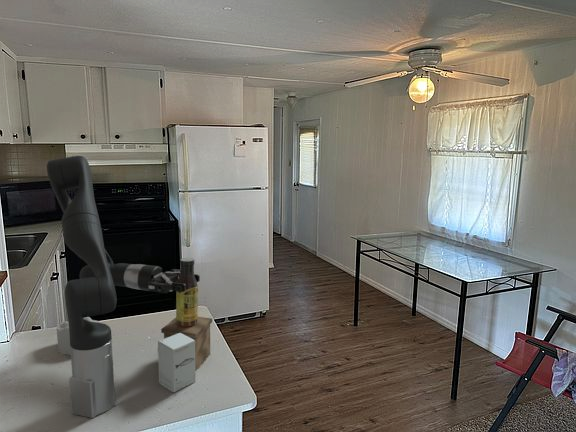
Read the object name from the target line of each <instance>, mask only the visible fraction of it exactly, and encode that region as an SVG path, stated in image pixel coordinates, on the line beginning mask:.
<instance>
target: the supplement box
mask: <svg viewBox="0 0 576 432" xmlns="http://www.w3.org/2000/svg"><path fill="white" fill-rule="evenodd" d="M157 356H158V359H157V360H158V383H159V384H160V385H162V386H163V387H164V388H166V389H167V390H169V391H170V392H171V393H174V394H175V393H176V392H178V391H179V390H182V389H183V388H185V387H187V386H190V385H191V384H193V383H196V372H195V340H193V339H192V338H190V337H188V336H186V335H184V334H182V333H178V334H175V335H173V336H170V337H168V338H165V339H164V338H162V339H160V340H157Z"/></svg>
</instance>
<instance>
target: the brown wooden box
mask: <svg viewBox="0 0 576 432" xmlns="http://www.w3.org/2000/svg"><path fill="white" fill-rule="evenodd" d="M211 324H213V318H212V317H204V316H198V318H197V322H196V324H194V325H193V326H189V327H181V326H179V325H177V319H176V317H175V318H173V319H172V320H171V321H169V322H168V323H167V324H165V325H164V326H163V327H162V328H161V330H160V331H161V332H160V333H161V334H163V339H165V338H168V337H170V336H173V335H175V334H178V333H182V334H184V335H186V336H188V337H190V338H192V339H193V340H195V371H196V370H197V369H200V368H201V366H202V365H203V364H204V363H205V362H206V360H207V359H208V358H209V357H210V356H211ZM209 355H210V356H209ZM208 356H209V357H208ZM207 357H208V358H207ZM206 358H207V359H206ZM204 361H205V362H204ZM203 362H204V363H203ZM202 363H203V364H202ZM201 364H202V365H201ZM200 365H201V366H200ZM197 371H198V370H197ZM197 371H196V372H197Z"/></svg>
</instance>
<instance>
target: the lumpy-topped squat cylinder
mask: <svg viewBox="0 0 576 432" xmlns="http://www.w3.org/2000/svg"><path fill="white" fill-rule="evenodd" d="M83 319H85V320H87V321H91V322H97V323H101V321H99V320H95V319H92V318H91V316H90V317H85V318H83ZM56 338H57V350H58V351H59V352H60V353H61V354H64V355H69V356H71V351H70V335H69V323H68V320H64V321H62V322H60V323H58V325H57V326H56Z"/></svg>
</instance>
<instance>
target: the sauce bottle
mask: <svg viewBox="0 0 576 432" xmlns="http://www.w3.org/2000/svg"><path fill="white" fill-rule="evenodd" d="M179 261H180V262H179V263H180V270H181V275H180V277H179V278H177V280H178V281H177V283H184V284H186V291H184V292H181V291H175V293H176V295H175V296H176V300H175V302H176V303H175V310H176V311H175V314H176V315H175V318H176V319H177V325H179V326H181V327H189V326H193V325H194V324H196V322H197V318H198V317H199V316H198V315H199V313H198V312H199V311H198V309H199V307H198V306H199V304H198V302H199V296H198V295H199V293H198V292H199V286H198V282H196V279H195V276H194V274H195V268H194V267H195V259H194V258H192V257H184V258H180V260H179Z"/></svg>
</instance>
